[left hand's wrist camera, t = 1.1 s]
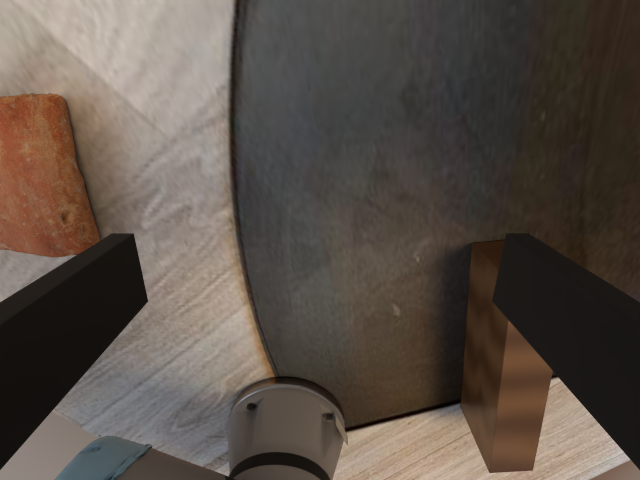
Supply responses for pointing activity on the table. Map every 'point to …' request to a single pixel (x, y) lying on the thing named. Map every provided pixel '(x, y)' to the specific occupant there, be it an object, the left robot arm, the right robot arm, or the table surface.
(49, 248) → the ceramic shard
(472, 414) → the bar
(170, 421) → the table surface
